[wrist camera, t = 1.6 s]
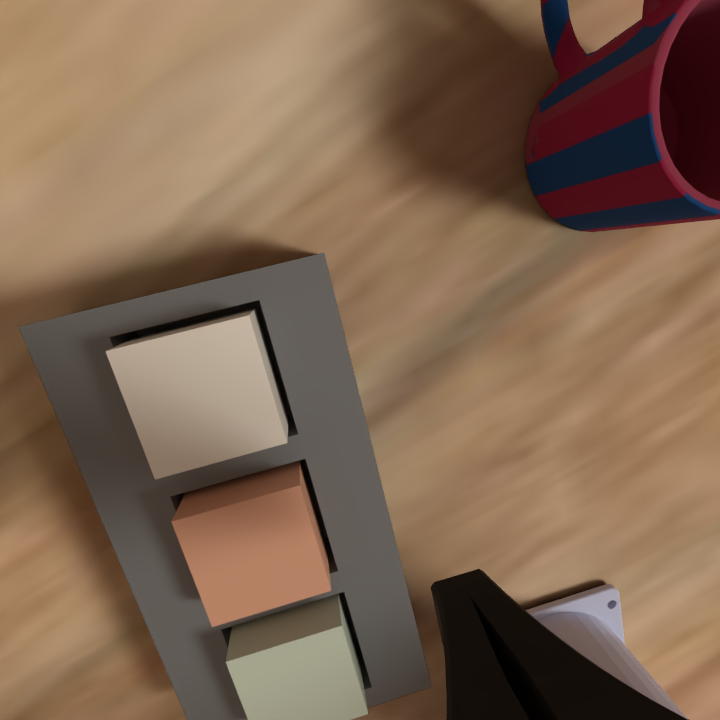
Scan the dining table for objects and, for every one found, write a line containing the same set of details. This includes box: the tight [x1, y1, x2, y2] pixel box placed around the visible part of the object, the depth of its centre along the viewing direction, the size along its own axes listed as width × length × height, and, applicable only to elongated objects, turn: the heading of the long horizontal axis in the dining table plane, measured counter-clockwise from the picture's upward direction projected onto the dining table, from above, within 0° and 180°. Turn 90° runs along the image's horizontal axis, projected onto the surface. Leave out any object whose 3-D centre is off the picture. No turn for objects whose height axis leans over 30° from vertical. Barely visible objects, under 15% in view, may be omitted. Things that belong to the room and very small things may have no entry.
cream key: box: [105, 308, 288, 480], centre depth 15 cm, size 4×4×2 cm
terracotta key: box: [171, 460, 331, 627], centre depth 17 cm, size 4×4×2 cm
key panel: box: [19, 253, 432, 720], centre depth 18 cm, size 19×10×3 cm, turn 13°
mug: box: [525, 0, 720, 232], centre depth 15 cm, size 7×10×7 cm
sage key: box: [226, 594, 368, 720], centre depth 18 cm, size 4×4×2 cm
